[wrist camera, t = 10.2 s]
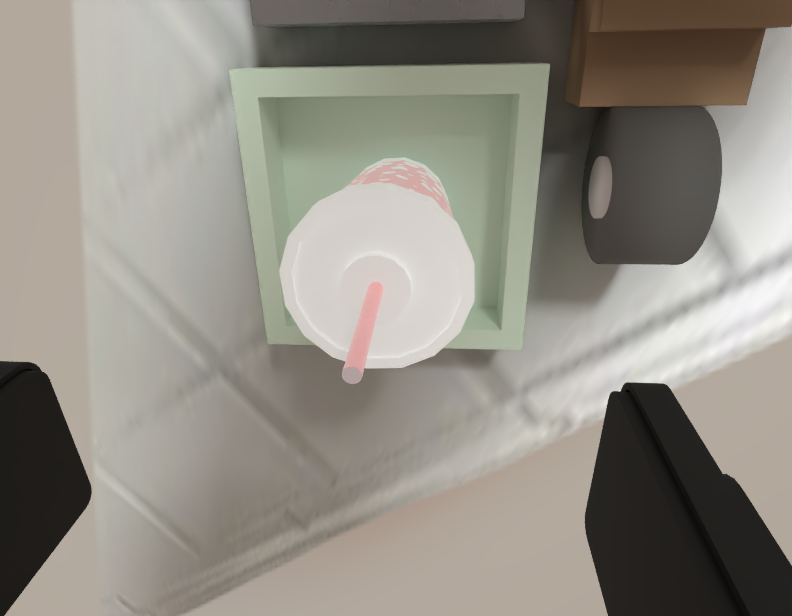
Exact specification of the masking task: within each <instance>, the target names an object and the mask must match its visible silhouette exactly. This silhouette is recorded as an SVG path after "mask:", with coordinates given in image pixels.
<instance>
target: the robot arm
mask: <svg viewBox="0 0 792 616" xmlns="http://www.w3.org/2000/svg"><path fill="white" fill-rule="evenodd" d="M90 498H91V484H90V482H89V479H88V477H87V474H86V471H85V469H84V467H83V464H82V461H81V459H80V456H79V454H78V451H77V448H76V446H75V444H74V441H73V438H72V435H71V433H70V430H69V428H68V425H67V423H66V420H65V418H64V415H63V413H62V410H61V407H60V405H59V402H58V400H57V397H56V395H55V392H54V389H53V387H52V384H51V382H50V379H49V377H48V376H47V374H45V373H44V372H42V371H41V369H40V368H39V367H38V366H37V365H36V364H34V363H30V362H8V361H6V362H5V361H0V616H4V615H5V614H6V612H7V611H8V610H9V609H10V607H11V606H12V605H13V603H14V602H15V601H16V599H17V598H18V597H19V595H20V594H21V593H22V591H23V590H24V589H25V587H26V586H27V585H28V584H29V582H30V581H31V579H32V578H33V577H34V576H35V574H36V573H37V571H38V570H39V569H40V568H41V566H42V565H43V564H44V562H45V561H46V560H47V559H48V557H49V556H50V555H51V553H52V552H53V551H54V549H55V548H56V547H57V545H58V544H59V543H60V541H61V540H62V539H63V537H64V536H65V535H66V534H67V532H68V531H69V530H70V528H71V527H72V526H73V524H74V523H75V522H76V520H77V519H78V518H79V516H80V515H81V514H82V512H83V511H84V510H85V509H86V507H87V505H88V503H89V501H90ZM585 529H586V535H587V539H588V543H589V547H590V550H591V554H592V558H593V562H594V565H595V569H596V573H597V576H598V580H599V583H600V587H601V591H602V595H603V598H604V602H605V606H606V609H607V613H608V616H792V566H791V564H790V562H789V561H788V559H787V558H786V556H785V555H784V553H783V552H782V550H781V548H780V547H779V545H778V544H777V542H776V541H775V539H774V537H773V536H772V534H771V533H770V531H769V530H768V528H767V527H766V525H765V523H764V522H763V520H762V519H761V517H760V516H759V514H758V513H757V511H756V510H755V508H754V506H753V505H752V503H751V502H750V500H749V498H748V497H747V495H746V494H745V492H744V491H743V489H742V488H741V486H740V485H739V484H738V483H737V482H736V480H735V479H734V478H732V477H730V476H729V475H727V474H722V472H721V470H720V469H719V467H718V466H717V464H716V462H715V461H714V459H713V457H712V456H711V454H710V453H709V451H708V449H707V448H706V446H705V445H704V443H703V441H702V440H701V438H700V436H699V435H698V433H697V432H696V430H695V428H694V427H693V425H692V423H691V422H690V420H689V419H688V417H687V415H686V414H685V412H684V411H683V409H682V407H681V406H680V404H679V403H678V401H677V399H676V398H675V396H674V394H673V393H672V391H671V389H670V388H669V387H668V386H667V385H665V384H658V383H628V382H627V383H625V384H624V385H623V387H622V389H621V392H617V391H613V392H611V394H610V396H609V399H608V404H607V409H606V414H605V419H604V424H603V429H602V434H601V439H600V444H599V449H598V453H597V459H596V463H595V468H594V473H593V478H592V483H591V488H590V493H589V498H588V502H587V508H586V513H585Z"/></svg>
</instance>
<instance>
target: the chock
mask: <svg viewBox="0 0 792 616" xmlns="http://www.w3.org/2000/svg"><path fill="white" fill-rule="evenodd" d="M791 25H792V0H575V8H574V16H573V25H572V34H571V43H570V52H569V61H568V70H567V78H566V87H565V96H564V101H566V102H569V103H571V104H574V105H576V106H579V107H612V106H707V105H746V104H747V100H748V96H749V92H750V88H751V85H752V81H753V77H754V73H755V69H756V65H757V61H758V57H759V53H760V49H761V45H762V41H763V37H764V33H765V29H766V28H778V27H791Z"/></svg>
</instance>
